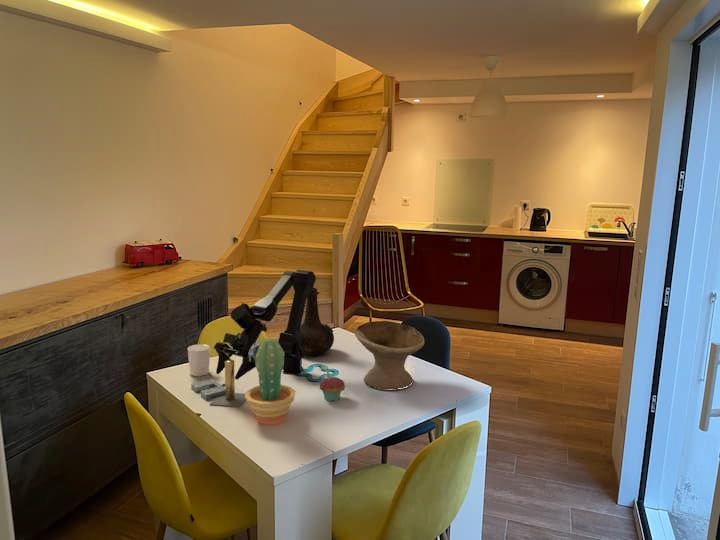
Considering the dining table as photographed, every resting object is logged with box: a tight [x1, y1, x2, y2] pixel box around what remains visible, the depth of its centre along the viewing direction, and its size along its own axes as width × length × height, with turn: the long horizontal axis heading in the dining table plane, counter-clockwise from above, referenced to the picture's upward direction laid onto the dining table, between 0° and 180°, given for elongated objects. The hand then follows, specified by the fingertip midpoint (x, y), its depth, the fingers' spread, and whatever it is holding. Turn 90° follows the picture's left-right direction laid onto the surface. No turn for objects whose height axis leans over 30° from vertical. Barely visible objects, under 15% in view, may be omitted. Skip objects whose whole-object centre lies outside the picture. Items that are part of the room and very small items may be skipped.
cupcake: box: [318, 364, 346, 401], centre depth 176 cm, size 9×8×12 cm
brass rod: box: [224, 359, 236, 401], centre depth 173 cm, size 3×3×13 cm
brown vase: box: [300, 287, 335, 357], centre depth 222 cm, size 18×18×28 cm
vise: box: [190, 378, 225, 401], centre depth 181 cm, size 10×12×2 cm
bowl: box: [354, 320, 425, 390], centre depth 191 cm, size 26×25×20 cm
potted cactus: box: [244, 337, 296, 426], centre depth 159 cm, size 15×15×25 cm
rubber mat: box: [209, 392, 246, 408], centre depth 174 cm, size 10×10×1 cm
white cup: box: [187, 344, 211, 377], centre depth 197 cm, size 8×8×10 cm
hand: (226, 376), depth 171 cm, fingers open, 8 cm apart
